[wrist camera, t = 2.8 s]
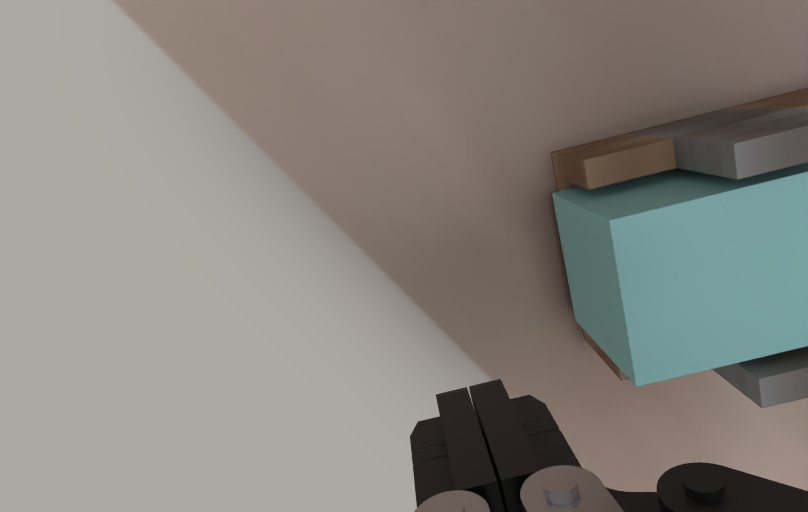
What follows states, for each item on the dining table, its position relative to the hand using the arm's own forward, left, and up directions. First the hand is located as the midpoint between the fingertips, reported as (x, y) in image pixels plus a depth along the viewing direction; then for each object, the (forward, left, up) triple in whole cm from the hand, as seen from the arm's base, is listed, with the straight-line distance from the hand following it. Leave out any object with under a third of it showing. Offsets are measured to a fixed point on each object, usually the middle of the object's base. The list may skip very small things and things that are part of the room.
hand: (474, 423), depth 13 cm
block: (-9, 0, -11) cm, 14 cm away
